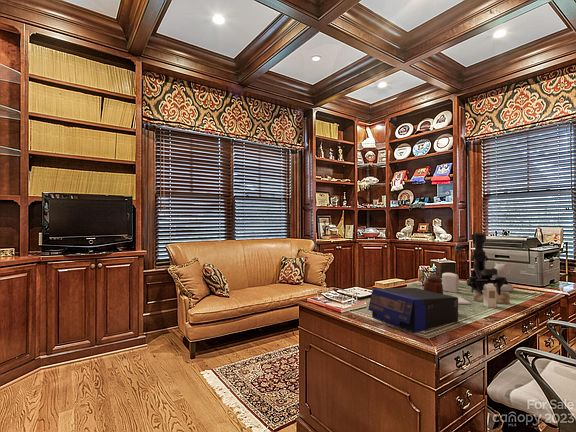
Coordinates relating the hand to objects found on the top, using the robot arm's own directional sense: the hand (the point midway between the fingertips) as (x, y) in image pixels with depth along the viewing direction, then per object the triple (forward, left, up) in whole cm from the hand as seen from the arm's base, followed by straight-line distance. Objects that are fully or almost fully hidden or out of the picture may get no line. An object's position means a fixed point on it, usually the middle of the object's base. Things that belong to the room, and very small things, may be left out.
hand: (491, 294), depth 175 cm
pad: (+15, -10, -7) cm, 19 cm away
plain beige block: (0, -1, -7) cm, 7 cm away
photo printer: (+7, -35, -7) cm, 36 cm away
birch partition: (-6, -11, -7) cm, 14 cm away
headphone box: (+50, +25, -7) cm, 57 cm away
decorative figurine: (-29, -42, -7) cm, 51 cm away
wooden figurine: (+33, +6, -7) cm, 34 cm away
